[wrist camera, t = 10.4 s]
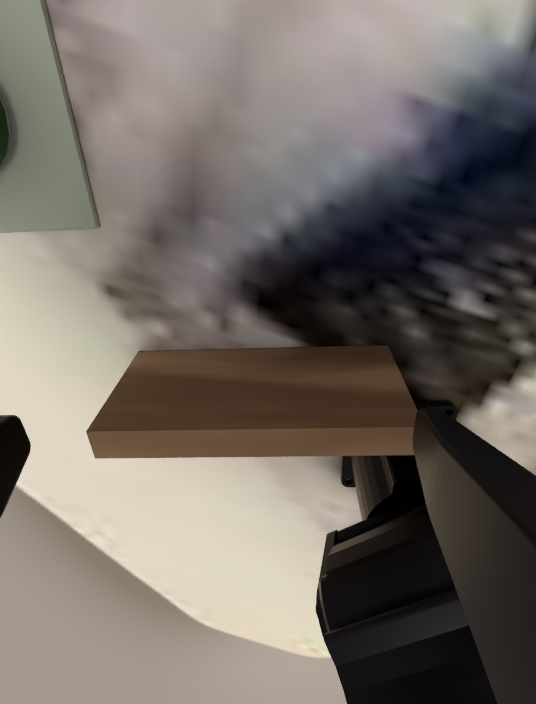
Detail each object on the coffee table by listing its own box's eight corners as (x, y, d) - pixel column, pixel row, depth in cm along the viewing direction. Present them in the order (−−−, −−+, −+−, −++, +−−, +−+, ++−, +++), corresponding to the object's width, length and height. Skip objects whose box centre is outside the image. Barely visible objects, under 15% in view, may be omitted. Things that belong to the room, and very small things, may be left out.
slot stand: (385, 368, 23) (420, 455, 17) (143, 373, 24) (95, 458, 18) (477, -550, 10) (754, -1526, 4) (-52, -468, 11) (-460, -1185, 5)
